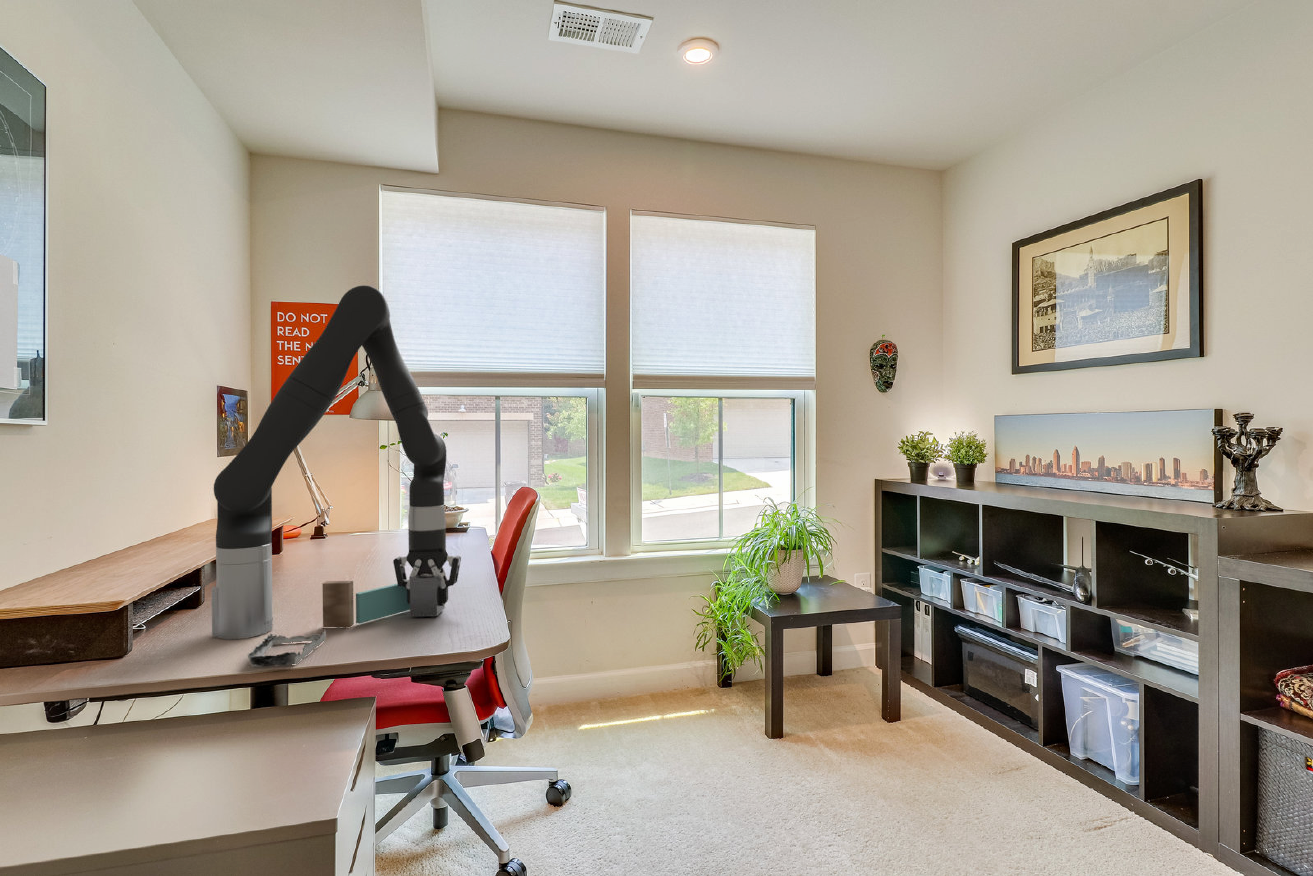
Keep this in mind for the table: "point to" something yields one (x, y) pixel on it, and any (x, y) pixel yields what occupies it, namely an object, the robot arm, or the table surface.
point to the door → (381, 603)
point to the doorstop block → (424, 596)
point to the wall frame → (338, 604)
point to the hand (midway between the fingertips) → (427, 605)
